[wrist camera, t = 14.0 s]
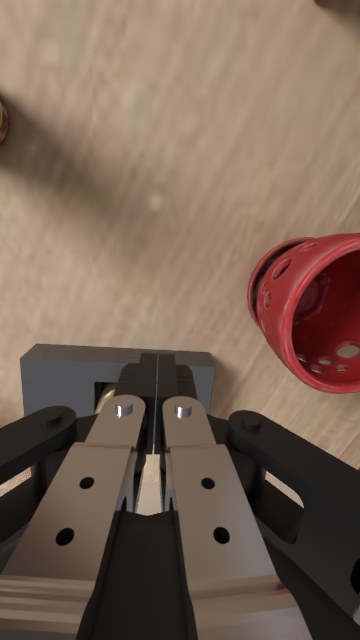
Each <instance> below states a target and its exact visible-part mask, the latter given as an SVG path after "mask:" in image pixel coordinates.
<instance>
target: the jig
mask: <svg viewBox="0 0 360 640" xmlns="http://www.w3.org/2000/svg"><path fill="white" fill-rule="evenodd" d="M141 353H157V377H156V399H155V416H154V433H153V444H155V424H156V400H157V381H158V361H159V353H162V354H175V362H176V365H187V366H188V367H189V368H190V369H191V370H192V373H193V378H194V384H195V388H196V393H197V398H198V401H199V402H200V403H201V404H202V405H203V407H204V410H205V413H207V414H208V415H209V409H210V402H211V394H212V387H213V380H214V372H215V365H214V363H213V361H212V359H211V357H210V355H209V352H191V351H171V350H151V349H131V348H111V347H91V346H71V345H51V344H35V345H34V346H33V347H32V348H31V349H30V350H29V351H28V352H26V353H25V354H24V355H23V356H22V357H21V358H20V367H21V380H22V392H23V405H24V417H25V416H27V415H29V414H32V413H34V412H36V411H38V410H40V409H43V408H46V407H50V406H67V407H70V408H72V409H73V410H74V411H75V413H76V418H80V417H85V416H90V415H94V414H95V411H96V409H97V406H98V403H99V400H100V397H101V382H116V383H118V380H119V377H120V373H121V370H122V368H123V367H125V366H126V365H127V364H128V363H139V362H140V357H141Z"/></svg>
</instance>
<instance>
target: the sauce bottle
mask: <svg viewBox="0 0 360 640" xmlns="http://www.w3.org/2000/svg"><path fill="white" fill-rule="evenodd" d="M8 124H9V123H8V117H7V113H6V109H5V106H4V104H3V102H2V99H1V97H0V143H1V142H2V141H3V139H4V138H5V135H6V133H7V127H8Z"/></svg>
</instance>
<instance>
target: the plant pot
mask: <svg viewBox="0 0 360 640" xmlns="http://www.w3.org/2000/svg"><path fill="white" fill-rule="evenodd" d="M247 299H248V306H249V311H250V313H251V316H252V318H253V320H254V321H255V323H256V324H257V326H258V327H259V328H260V329H261V330H262V332H263V334H264V336H265V338H266V340H267V342H268V344H269V345H270V347H271V348H272V350H273V351H274V352H275V354H276V355H277V356H278V358H279V359H280V360H281V361H282V362H283V364H284V365H285V366H286V367H287V368H288V369H289V370H290V371H291V372H292V373H293V374H294V375H295V376H296V377H297V378H298V379H299V380H300V381H302V382H303V383H305V384H306V385H308V386H310V387H312V388H314V389H316V390H319V391H323V392H327V393H335V394H345V393H355V392H360V352H359V353H358V354H357V355H356V356H354V357H351V358H342V357H340V356H338V355H337V354H336V352H337V350H338V349H339V348H341V347H343V346H347V345H354V346H357V347H358V348H359V349H360V233H350V234H336V235H329V236H324V237H320V238H311V237H304V238H296V239H292V240H289V241H286V242H284V243H282V244H280V245H278V246H276V247H275V248H273V249H272V250H270V251H269V252H268V253H267V254H266V255H265V256H264V257H263V258H262V259H261V260H260V262H259V263H258V264H257V266H256V268H255V269H254V271H253V273H252V276H251V278H250V281H249V285H248V293H247ZM297 357H298V358H301V359H303V360H305V361H306V362H304V361H301V360H299V359H298V358H297ZM322 360H326V361H329V362H331V363H332V364H328V365H323V364H321V363H319V361H322ZM311 369H313V370H317V371H319V372H321V373H316V372H314V371H312V370H311ZM338 369H345V370H346V371H337V370H338Z"/></svg>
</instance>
